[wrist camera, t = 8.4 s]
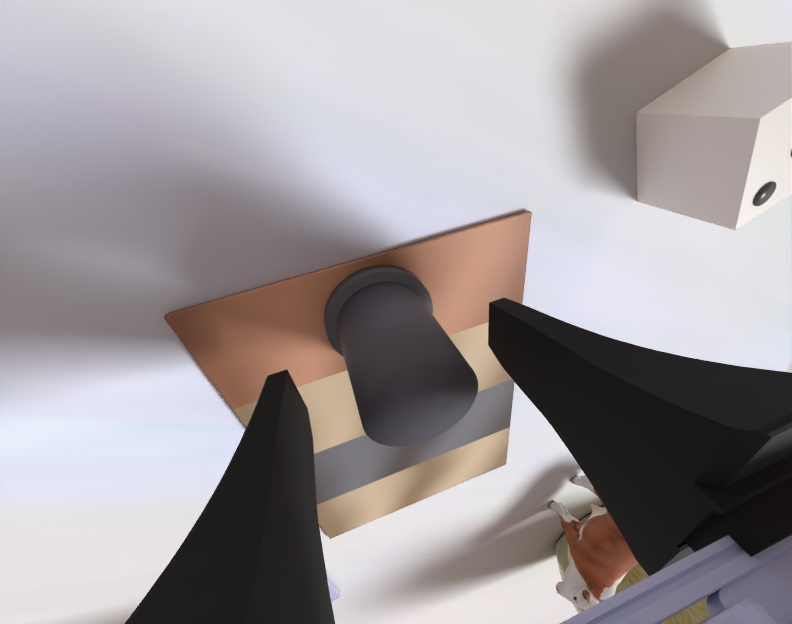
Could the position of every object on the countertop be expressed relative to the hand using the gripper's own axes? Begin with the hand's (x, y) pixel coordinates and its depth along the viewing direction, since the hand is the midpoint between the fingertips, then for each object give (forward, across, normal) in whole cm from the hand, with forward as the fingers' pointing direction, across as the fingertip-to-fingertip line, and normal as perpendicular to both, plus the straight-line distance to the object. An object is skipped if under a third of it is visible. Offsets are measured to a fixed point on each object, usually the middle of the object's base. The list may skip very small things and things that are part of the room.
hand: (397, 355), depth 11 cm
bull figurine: (+3, -15, +30) cm, 34 cm away
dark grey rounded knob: (+3, 0, 0) cm, 3 cm away
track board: (+3, 0, +8) cm, 8 cm away
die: (+3, -14, -4) cm, 15 cm away
